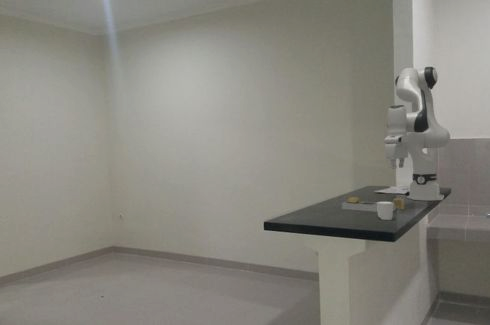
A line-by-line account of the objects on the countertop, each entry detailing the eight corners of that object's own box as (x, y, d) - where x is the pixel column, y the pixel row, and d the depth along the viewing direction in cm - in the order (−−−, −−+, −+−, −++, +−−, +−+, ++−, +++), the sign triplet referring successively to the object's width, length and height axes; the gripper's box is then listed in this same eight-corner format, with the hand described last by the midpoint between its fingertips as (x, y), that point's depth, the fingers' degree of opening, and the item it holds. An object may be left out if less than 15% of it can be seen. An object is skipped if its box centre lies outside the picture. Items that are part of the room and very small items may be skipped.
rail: (349, 207, 203) (349, 200, 203) (395, 211, 189) (395, 203, 188) (341, 210, 197) (341, 202, 197) (388, 214, 182) (388, 206, 182)
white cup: (393, 220, 169) (393, 203, 169) (376, 219, 171) (376, 203, 171) (393, 217, 175) (393, 201, 175) (377, 216, 178) (376, 201, 177)
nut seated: (351, 207, 200) (351, 197, 200) (359, 207, 198) (359, 197, 197) (348, 208, 197) (348, 198, 197) (356, 209, 194) (355, 198, 194)
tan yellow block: (395, 208, 197) (395, 198, 197) (404, 209, 195) (404, 198, 194) (392, 209, 194) (392, 199, 194) (401, 210, 192) (401, 200, 191)
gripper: (398, 139, 203) (398, 166, 203) (382, 139, 187) (383, 169, 188) (411, 138, 199) (411, 167, 199) (396, 139, 183) (396, 169, 184)
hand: (397, 168), depth 193 cm, fingers open, 8 cm apart
